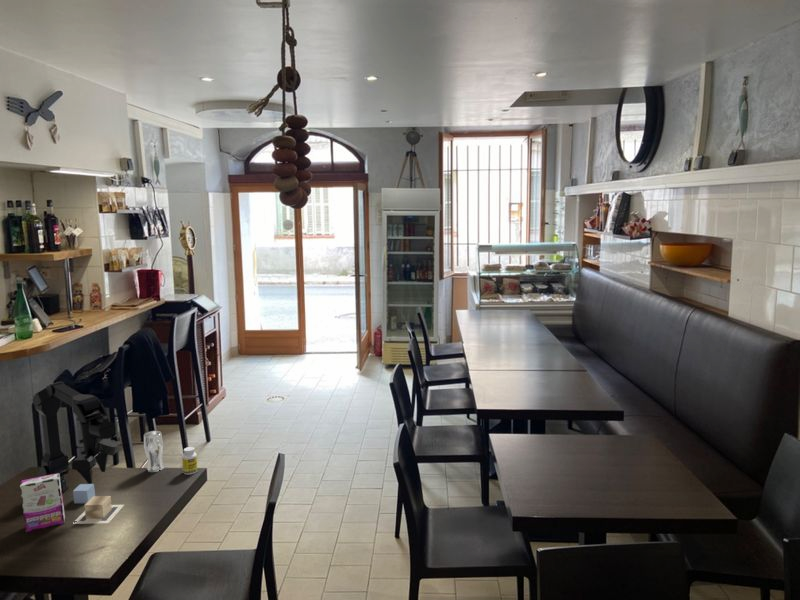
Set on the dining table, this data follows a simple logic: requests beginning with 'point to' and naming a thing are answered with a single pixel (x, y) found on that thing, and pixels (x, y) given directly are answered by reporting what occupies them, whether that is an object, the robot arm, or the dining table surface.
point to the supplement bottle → (189, 461)
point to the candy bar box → (42, 502)
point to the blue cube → (83, 493)
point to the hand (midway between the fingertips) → (97, 477)
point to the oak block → (98, 507)
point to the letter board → (106, 519)
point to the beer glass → (154, 450)
